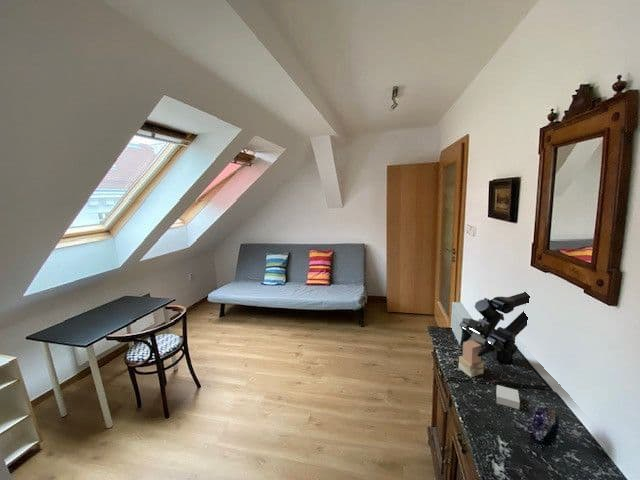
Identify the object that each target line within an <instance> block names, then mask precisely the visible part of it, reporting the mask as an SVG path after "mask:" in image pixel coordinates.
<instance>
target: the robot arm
mask: <svg viewBox="0 0 640 480" xmlns="http://www.w3.org/2000/svg"><path fill="white" fill-rule="evenodd" d="M529 298H530V296H529V295H528V294H527V293H526V292H525V291H524V292H521V293H517V294H514V295H510V296H495V297H493V298H492V299H489V298H486V297H484V298H483V299H479V300H478V301H476V302H475V305H474V308H475V310H476V311H477V312H478V313H479V314H480V315H481V316H482V318H479V319H478V320H476V319H470V320H469V323H466V322H464V321H463V322H461V323H460V325H459V326H461V329H462V338H461V343H460V344H459V346H460V345H461V346H460V347H463V346H462V345H463V342H466V341H468V339H469V338H470V337H471V336H472V335H471V334H473V333H474V334H476V335H477V336H479V337H481V338H483V339H485V340H486V341H485V343H484V345H482V346H481V350H480V351H479V353H478V355H477V356H478V357H480V356H481V357H482V356H484V355H486V354H489V353H491V352H493V357H494V359H495V360H496V361H497V363H499V365H501V364H504V365H514V364H515V362H514V360H513V359H514V355H515V354H516V352H517V351H518V346H517V344H515V343H516V337H517V336H518V335H519V334H520V333H521V332H522V331H523V330H524V329H525V328H526V327H527V326H528V325H527V320H528V317H527V316H526V314H525V313H524V310H523V311H522V312H521V313H520V314H519V315H517V316H516V318H515V319H514V320H512V322H510V323H509V324H508V325H507V326H506V327H504V328H503V327H501V326H499V327H497V326H498V324H499V323H500V321H505V317H504V314H505V315H507V314H509V313H511V312H513V311H514V309H515V308H516V307H519V306H524V305H526V303H529ZM496 327H497V328H496ZM477 333H478V334H477ZM482 335H483V336H484V337H483V336H482ZM489 335H490V336H489Z"/></svg>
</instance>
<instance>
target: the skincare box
mask: <svg viewBox="0 0 640 480" xmlns="http://www.w3.org/2000/svg"><path fill="white" fill-rule="evenodd" d="M450 318H451V319H450V328H452V329H451V330H452V332H453V334H454V336H455V338H456V340H457V342H458V344H459V347H463V345H462V346H461V345H460V343H461V338H462V329H461V326H459V325H460V323H461V322H463V321H464V322H466V323H469V320H470V319H473V317H472V315H471V314H470V313H469V311H468V310H467V308H466V307H465V306H464V304H463V303H462V302H459V301H457V302H456V301H452V303H451V315H450ZM473 320H474V319H473ZM469 340H471V337H470V338H469V339H468V341H469Z"/></svg>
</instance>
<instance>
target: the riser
mask: <svg viewBox="0 0 640 480" xmlns="http://www.w3.org/2000/svg"><path fill="white" fill-rule="evenodd" d="M495 392H496V404H498V405H502V406H506V407H509V408H512V409H515V410H520V406H521V405H520V403H521V402H520V396H519V390H518V389H514V388H510V387H506V386H502V385H499V384H496V391H495Z"/></svg>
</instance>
